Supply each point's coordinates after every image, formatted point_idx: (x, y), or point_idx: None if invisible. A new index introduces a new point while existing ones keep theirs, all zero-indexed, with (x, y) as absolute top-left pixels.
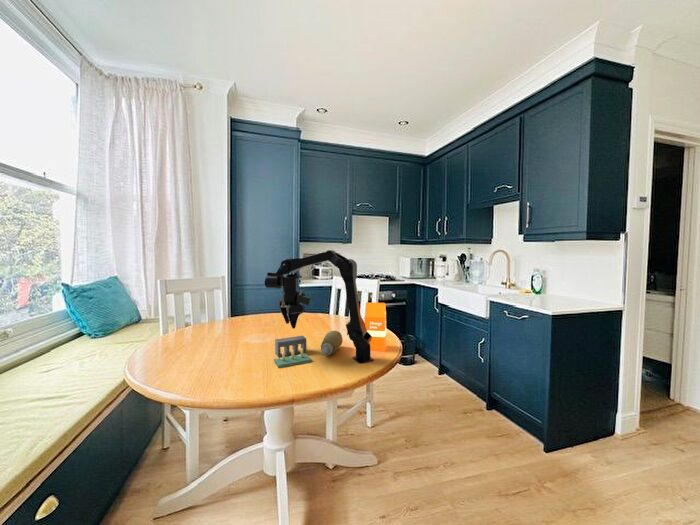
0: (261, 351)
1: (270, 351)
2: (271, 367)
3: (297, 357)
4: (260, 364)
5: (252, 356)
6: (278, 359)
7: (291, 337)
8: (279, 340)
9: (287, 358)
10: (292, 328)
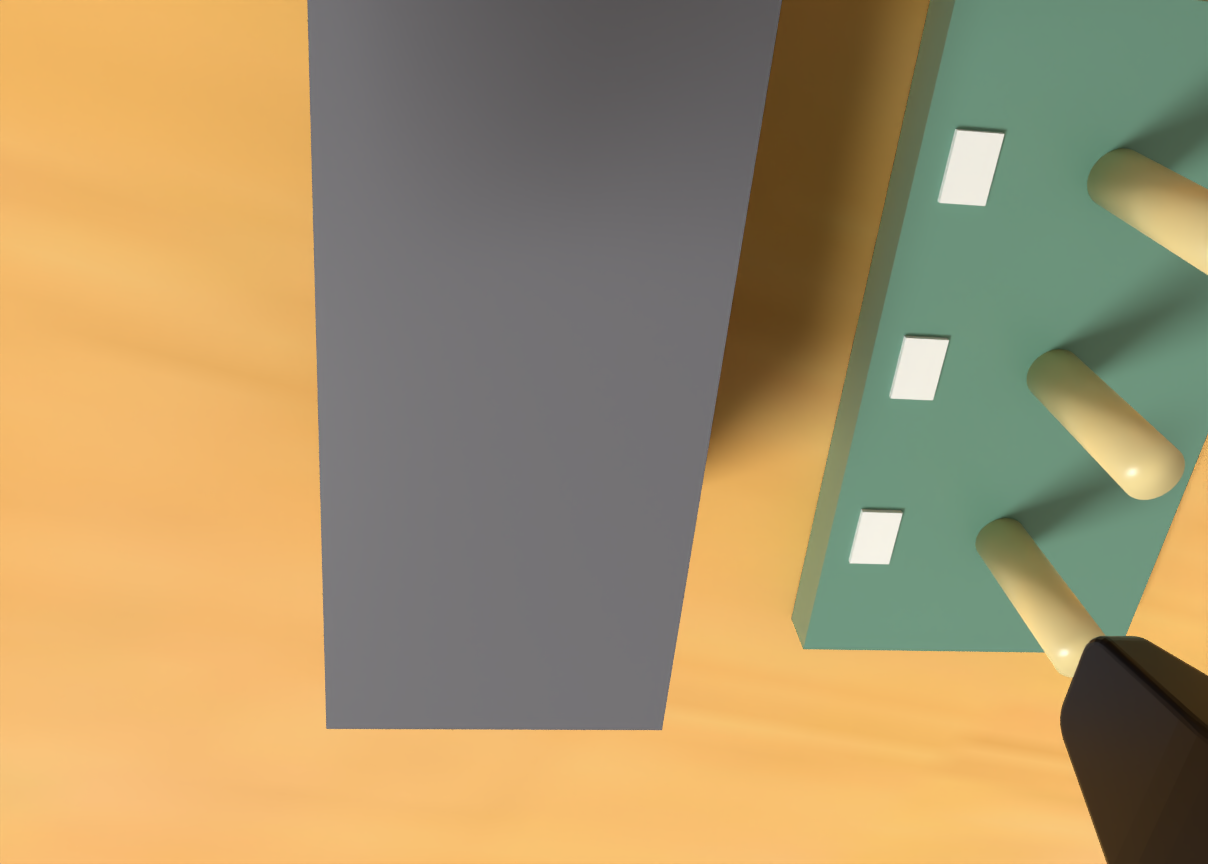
0: (95, 689)
1: (174, 555)
2: (997, 695)
3: (1042, 264)
4: (767, 792)
5: (321, 836)
6: (878, 595)
7: (360, 293)
8: (488, 660)
9: (946, 451)
10: (1094, 728)
